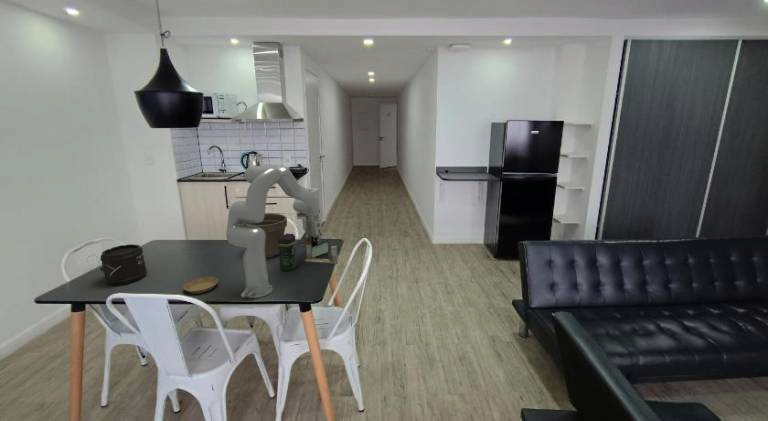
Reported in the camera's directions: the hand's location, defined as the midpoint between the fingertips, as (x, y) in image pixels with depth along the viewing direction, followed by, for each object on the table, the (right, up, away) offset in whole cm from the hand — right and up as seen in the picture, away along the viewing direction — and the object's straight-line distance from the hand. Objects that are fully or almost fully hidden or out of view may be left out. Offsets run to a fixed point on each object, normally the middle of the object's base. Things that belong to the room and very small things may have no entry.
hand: (314, 246), depth 205 cm
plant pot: (-28, -4, +3) cm, 29 cm away
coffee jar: (-10, -10, -18) cm, 23 cm away
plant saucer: (-46, -16, -40) cm, 63 cm away
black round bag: (-90, -14, -29) cm, 96 cm away
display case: (-6, 0, +19) cm, 20 cm away
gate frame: (+6, -7, -10) cm, 14 cm away
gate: (+4, -4, -3) cm, 6 cm away
